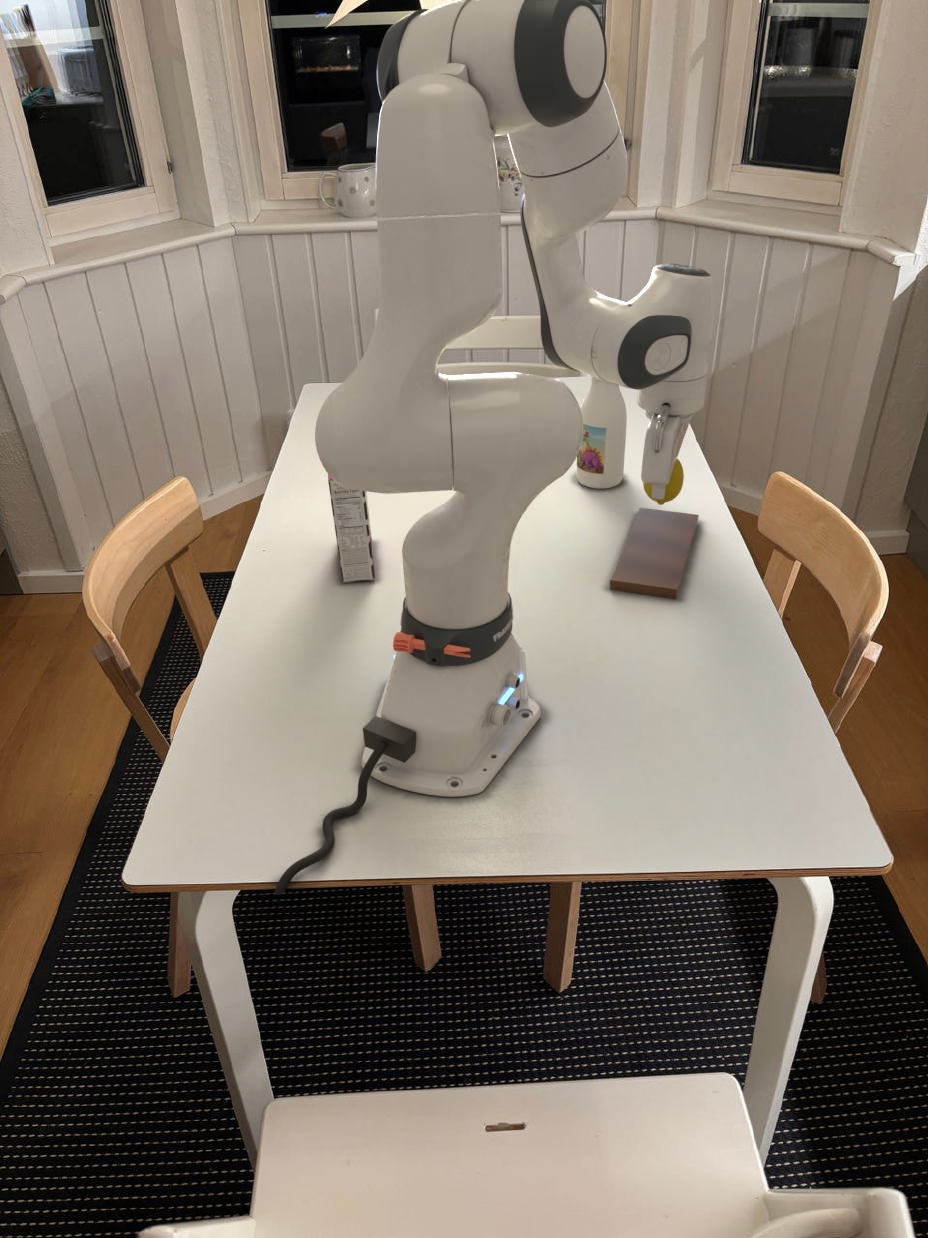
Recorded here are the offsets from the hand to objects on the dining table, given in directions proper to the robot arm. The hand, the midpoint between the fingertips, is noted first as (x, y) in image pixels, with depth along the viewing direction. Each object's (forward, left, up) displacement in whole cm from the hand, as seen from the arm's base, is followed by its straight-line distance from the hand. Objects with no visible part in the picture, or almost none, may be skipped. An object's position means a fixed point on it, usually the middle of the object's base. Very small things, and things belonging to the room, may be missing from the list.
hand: (662, 485), depth 134 cm
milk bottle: (+20, +13, -10) cm, 26 cm away
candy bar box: (-16, +41, -10) cm, 45 cm away
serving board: (-2, 0, -10) cm, 10 cm away
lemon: (0, 0, -3) cm, 3 cm away
